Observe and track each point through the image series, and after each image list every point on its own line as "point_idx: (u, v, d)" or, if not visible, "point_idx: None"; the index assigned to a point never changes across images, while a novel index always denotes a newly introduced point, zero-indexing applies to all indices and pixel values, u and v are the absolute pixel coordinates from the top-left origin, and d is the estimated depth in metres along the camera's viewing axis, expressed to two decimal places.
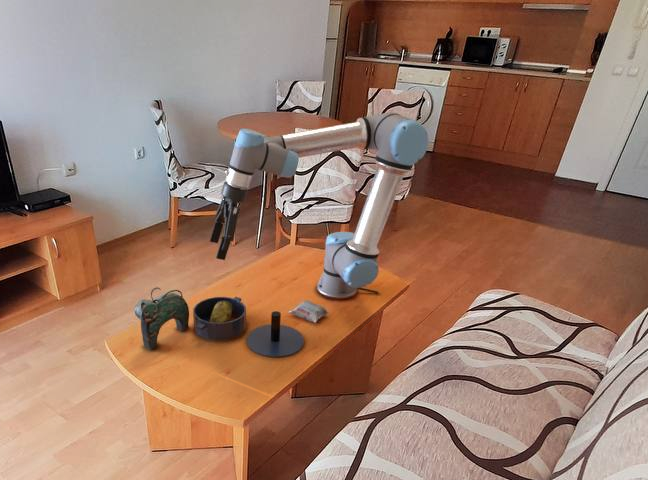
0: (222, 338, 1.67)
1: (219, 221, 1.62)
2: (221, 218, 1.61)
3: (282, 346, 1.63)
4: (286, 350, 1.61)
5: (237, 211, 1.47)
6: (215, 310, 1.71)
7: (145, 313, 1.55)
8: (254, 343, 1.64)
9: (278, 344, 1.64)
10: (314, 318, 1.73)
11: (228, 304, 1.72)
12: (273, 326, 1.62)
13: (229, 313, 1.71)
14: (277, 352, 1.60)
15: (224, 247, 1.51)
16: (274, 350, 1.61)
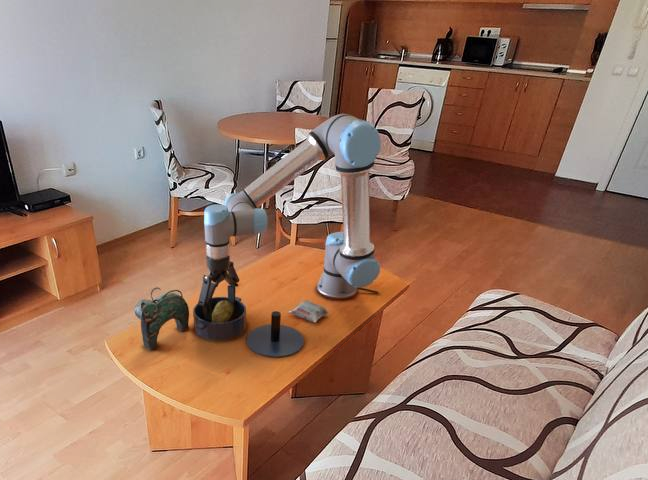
0: (222, 338, 1.67)
1: (231, 284, 1.72)
2: (229, 282, 1.71)
3: (282, 346, 1.63)
4: (286, 350, 1.61)
5: (207, 279, 1.58)
6: (216, 308, 1.72)
7: (145, 313, 1.55)
8: (254, 343, 1.64)
9: (278, 344, 1.64)
10: (314, 318, 1.73)
11: (230, 303, 1.73)
12: (273, 326, 1.62)
13: (230, 312, 1.71)
14: (277, 352, 1.60)
15: (204, 311, 1.64)
16: (274, 350, 1.61)
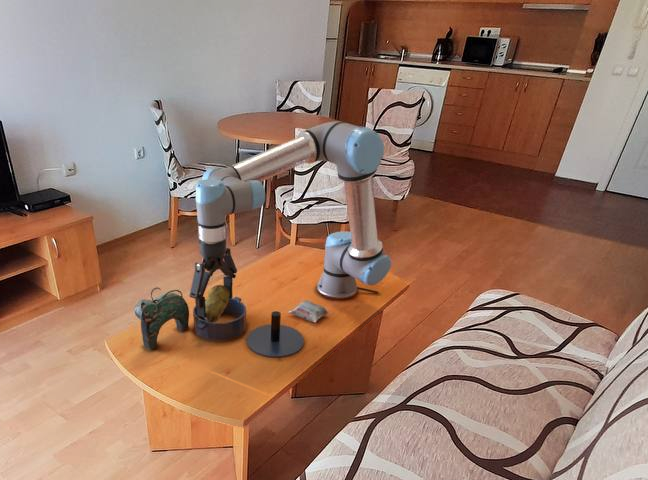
0: (222, 338, 1.67)
1: (228, 275, 1.50)
2: (225, 273, 1.49)
3: (282, 346, 1.63)
4: (286, 350, 1.61)
5: (200, 267, 1.36)
6: (210, 296, 1.48)
7: (145, 313, 1.55)
8: (254, 343, 1.64)
9: (278, 344, 1.64)
10: (314, 318, 1.73)
11: (225, 289, 1.49)
12: (273, 326, 1.62)
13: (226, 299, 1.47)
14: (277, 352, 1.60)
15: (196, 304, 1.42)
16: (274, 350, 1.61)
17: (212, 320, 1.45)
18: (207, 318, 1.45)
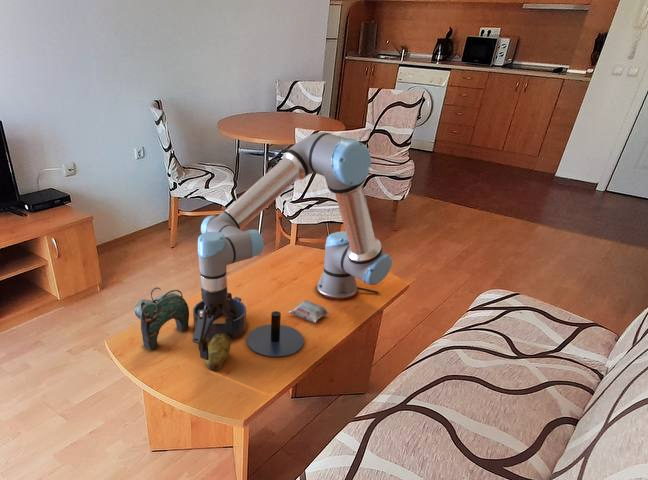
0: None
1: (229, 317, 1.56)
2: (227, 315, 1.54)
3: (282, 346, 1.63)
4: (286, 350, 1.61)
5: (203, 315, 1.42)
6: (212, 344, 1.55)
7: (145, 313, 1.55)
8: (254, 343, 1.64)
9: (278, 344, 1.64)
10: (314, 318, 1.73)
11: (226, 337, 1.56)
12: (273, 326, 1.62)
13: (227, 348, 1.54)
14: (277, 352, 1.60)
15: (199, 348, 1.48)
16: (274, 350, 1.61)
17: (214, 369, 1.52)
18: (210, 367, 1.52)
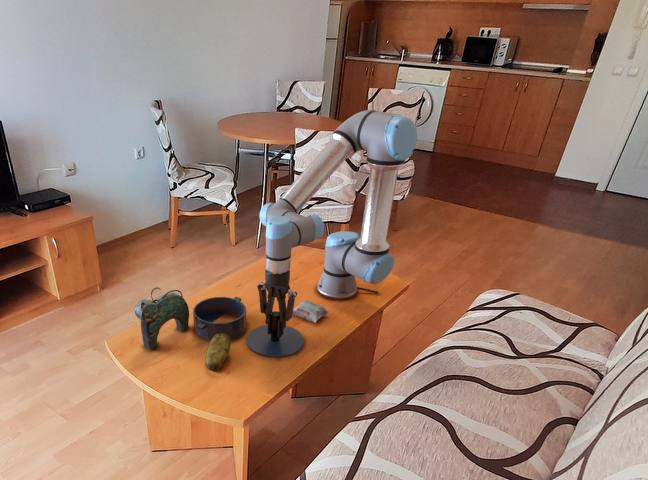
0: None
1: None
2: None
3: (282, 346, 1.63)
4: (286, 350, 1.61)
5: None
6: (212, 344, 1.55)
7: (145, 313, 1.55)
8: (254, 343, 1.64)
9: (278, 344, 1.64)
10: (314, 318, 1.73)
11: (226, 337, 1.56)
12: (273, 326, 1.62)
13: (227, 348, 1.54)
14: (277, 352, 1.60)
15: None
16: (274, 350, 1.61)
17: (214, 369, 1.52)
18: (210, 367, 1.52)
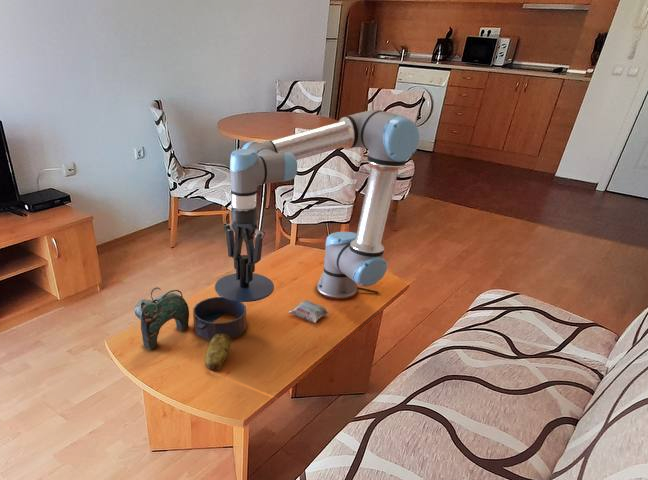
0: None
1: None
2: None
3: (251, 291, 1.57)
4: (255, 295, 1.55)
5: None
6: (212, 344, 1.55)
7: (145, 313, 1.55)
8: (222, 289, 1.58)
9: (247, 290, 1.58)
10: (314, 318, 1.73)
11: (226, 337, 1.56)
12: (241, 270, 1.56)
13: (227, 348, 1.54)
14: (245, 297, 1.54)
15: None
16: (242, 295, 1.55)
17: (214, 369, 1.52)
18: (210, 367, 1.52)
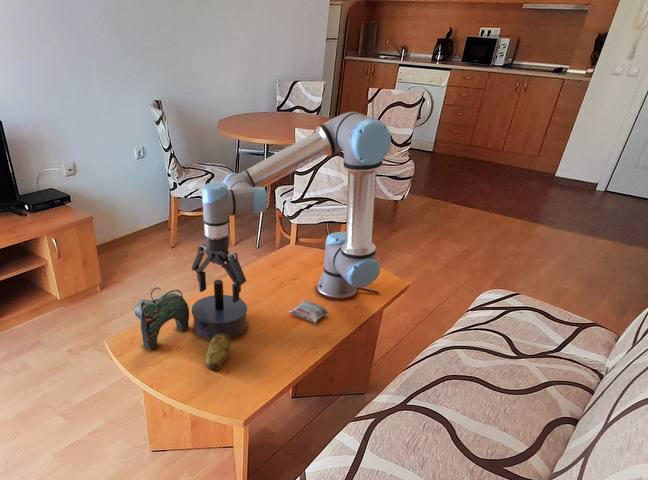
0: None
1: None
2: None
3: (225, 314, 1.67)
4: (228, 317, 1.65)
5: None
6: (212, 344, 1.55)
7: (145, 313, 1.55)
8: (198, 311, 1.69)
9: (221, 312, 1.68)
10: (314, 318, 1.73)
11: (226, 337, 1.56)
12: (216, 294, 1.66)
13: (227, 348, 1.54)
14: (219, 319, 1.64)
15: None
16: (217, 317, 1.65)
17: (214, 369, 1.52)
18: (210, 367, 1.52)
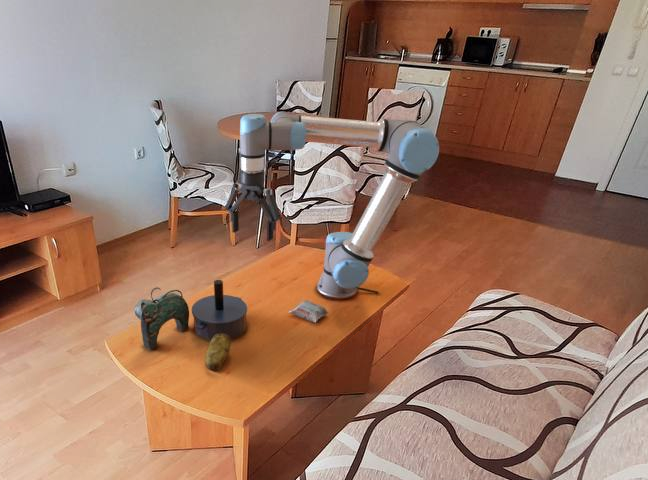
0: None
1: None
2: None
3: (225, 314, 1.67)
4: (228, 317, 1.65)
5: None
6: (212, 344, 1.55)
7: (145, 313, 1.55)
8: (198, 311, 1.69)
9: (221, 312, 1.68)
10: (314, 318, 1.73)
11: (226, 337, 1.56)
12: (216, 294, 1.66)
13: (227, 348, 1.54)
14: (219, 319, 1.64)
15: None
16: (217, 317, 1.65)
17: (214, 369, 1.52)
18: (210, 367, 1.52)
